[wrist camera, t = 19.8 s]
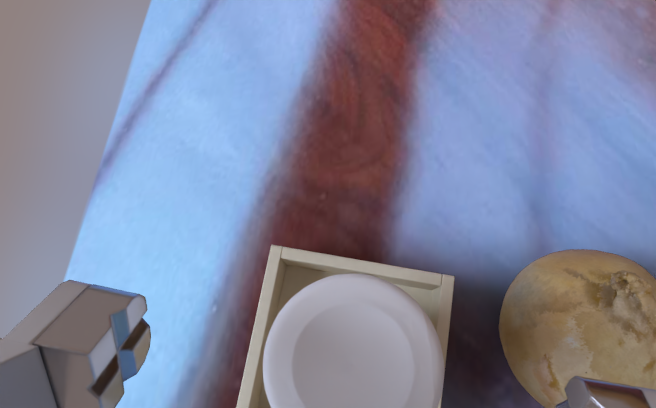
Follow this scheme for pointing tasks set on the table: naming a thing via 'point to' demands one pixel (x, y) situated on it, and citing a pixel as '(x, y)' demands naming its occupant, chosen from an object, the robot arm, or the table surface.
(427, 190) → the table surface
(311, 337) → the sprinkles bottle
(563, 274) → the onion
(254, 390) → the tray
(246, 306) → the table surface
